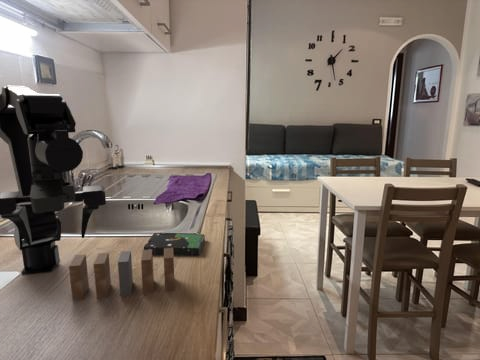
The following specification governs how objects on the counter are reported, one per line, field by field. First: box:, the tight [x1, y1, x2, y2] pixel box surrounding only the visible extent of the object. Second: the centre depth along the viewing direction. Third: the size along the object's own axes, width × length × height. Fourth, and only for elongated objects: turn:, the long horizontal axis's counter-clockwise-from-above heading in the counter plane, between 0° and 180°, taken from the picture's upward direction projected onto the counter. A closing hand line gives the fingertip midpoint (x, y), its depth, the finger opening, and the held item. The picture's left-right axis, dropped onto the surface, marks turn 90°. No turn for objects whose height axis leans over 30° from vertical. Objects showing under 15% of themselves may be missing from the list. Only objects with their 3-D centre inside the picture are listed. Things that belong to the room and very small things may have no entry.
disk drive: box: [143, 232, 206, 257], centre depth 92 cm, size 10×3×15 cm
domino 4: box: [140, 249, 155, 294], centre depth 71 cm, size 2×5×8 cm, turn 12°
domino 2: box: [93, 252, 112, 299], centre depth 69 cm, size 2×5×8 cm, turn 12°
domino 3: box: [117, 250, 134, 297], centre depth 70 cm, size 2×5×8 cm, turn 12°
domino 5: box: [163, 248, 176, 292], centre depth 72 cm, size 2×5×8 cm, turn 12°
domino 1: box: [68, 253, 90, 302], centre depth 68 cm, size 2×5×8 cm, turn 12°
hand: (57, 240), depth 66 cm, fingers open, 9 cm apart
